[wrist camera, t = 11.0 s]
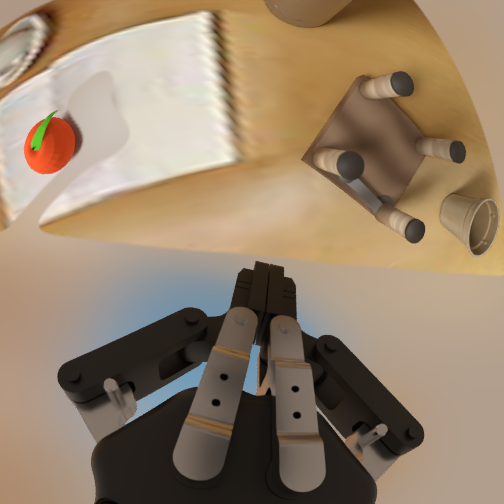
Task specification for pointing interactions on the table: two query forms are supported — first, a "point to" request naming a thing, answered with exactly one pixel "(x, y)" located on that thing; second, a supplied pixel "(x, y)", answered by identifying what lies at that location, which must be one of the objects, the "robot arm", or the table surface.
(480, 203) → the flower pot
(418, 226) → the swing leg
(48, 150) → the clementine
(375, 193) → the stool
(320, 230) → the table surface
